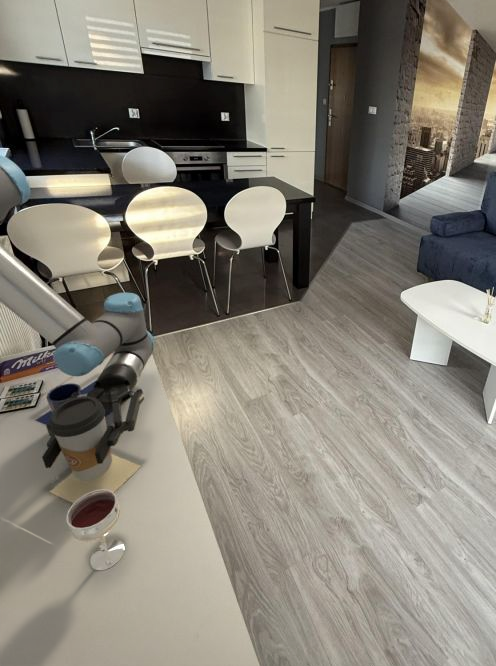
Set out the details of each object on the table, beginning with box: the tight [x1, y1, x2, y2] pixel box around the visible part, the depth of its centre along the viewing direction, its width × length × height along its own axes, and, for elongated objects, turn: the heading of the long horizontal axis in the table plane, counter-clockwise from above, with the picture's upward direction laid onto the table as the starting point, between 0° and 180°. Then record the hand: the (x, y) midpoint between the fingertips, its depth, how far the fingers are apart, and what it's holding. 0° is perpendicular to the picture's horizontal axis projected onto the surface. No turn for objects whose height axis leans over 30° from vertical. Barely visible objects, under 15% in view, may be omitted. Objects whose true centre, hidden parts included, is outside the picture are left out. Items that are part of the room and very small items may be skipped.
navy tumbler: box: [46, 382, 82, 412], centre depth 88 cm, size 6×6×10 cm
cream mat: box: [49, 453, 142, 504], centre depth 79 cm, size 11×11×1 cm
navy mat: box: [35, 379, 134, 426], centre depth 96 cm, size 13×16×1 cm
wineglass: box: [65, 489, 125, 571], centre depth 64 cm, size 7×7×12 cm
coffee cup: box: [50, 396, 112, 481], centre depth 74 cm, size 8×8×15 cm
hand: (72, 460), depth 70 cm, fingers closed on coffee cup, 8 cm apart
